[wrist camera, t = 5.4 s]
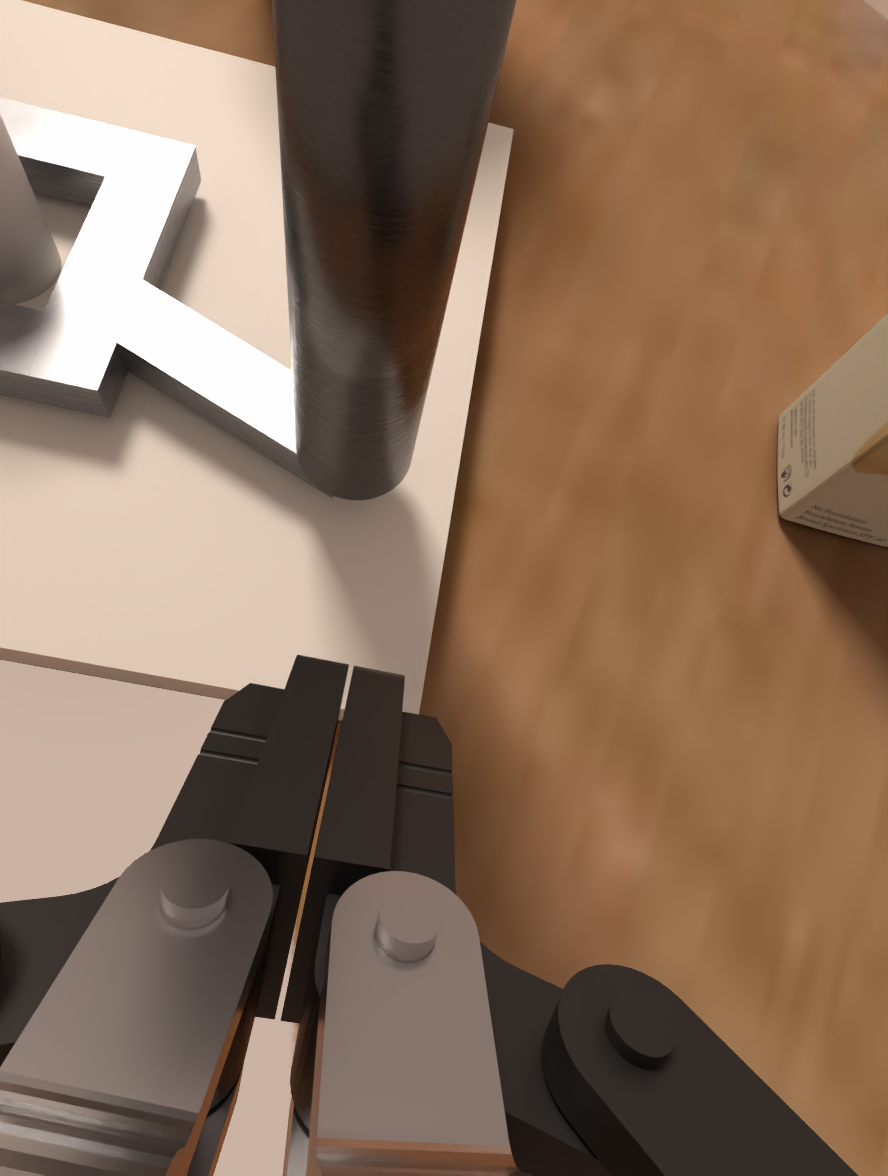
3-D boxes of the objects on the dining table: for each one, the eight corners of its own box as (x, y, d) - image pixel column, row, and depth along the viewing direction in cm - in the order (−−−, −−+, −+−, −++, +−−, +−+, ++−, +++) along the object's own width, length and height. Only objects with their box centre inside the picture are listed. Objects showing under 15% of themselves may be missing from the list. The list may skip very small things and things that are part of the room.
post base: (-667, 539, 17) (-1258, 343, 11) (-215, -19, 26) (-395, -319, 19) (410, 732, 20) (455, 666, 13) (504, 165, 28) (559, -46, 21)
